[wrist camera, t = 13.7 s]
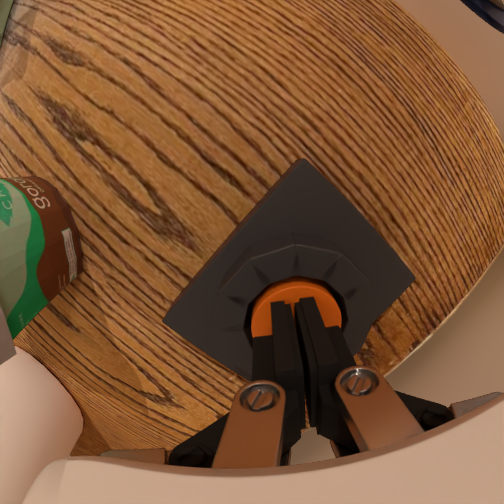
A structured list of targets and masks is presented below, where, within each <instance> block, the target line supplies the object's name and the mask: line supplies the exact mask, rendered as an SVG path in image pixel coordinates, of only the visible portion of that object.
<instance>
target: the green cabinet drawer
mask: <svg viewBox="0 0 504 504" xmlns="http://www.w3.org/2000/svg"><path fill="white" fill-rule="evenodd" d="M12 2H13V0H0V37H1V36H2V34H3V30H4V27H5V23H6V20H7V17H8V13H9V10H10V7H11V4H12Z"/></svg>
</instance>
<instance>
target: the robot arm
mask: <svg viewBox="0 0 504 504" xmlns="http://www.w3.org/2000/svg"><path fill="white" fill-rule="evenodd" d="M489 1H491V2H492V3H494V4H495V5H497V6H498V7H500V8H502V9H504V0H489ZM294 304H295V316H296V329H297V333H296V329H295V324H294V319H293V314H292V309H291V305H290V303H289V304H285V302H284V301H276V302H270V305H271V319H272V333H273V335H267V336H258V337H254V338H253V361H252V382H249V383H247V384H245V385H244V386H242V387H241V388H240V389H239V390H238V391H237V393H236V395H235V397H234V400H233V403H232V406H231V409H230V412H229V413H227V414H226V415H224V416H223V417H221V418H220V419H219V420H217V421H216V422H214V423H213V424H211V425H209V426H208V427H206V428H205V429H203V430H202V431H200V432H199V433H197V434H195V435H194V436H192V437H191V438H189V439H187V440H186V441H184V442H182V443H181V444H179V445H178V446H176V447H175V448H174V449H173V450H168V451H167V450H166V449H165V448H156V449H134V450H107V451H105V452H103V453H101V454H100V455H99V456H73V457H66V458H61V459H57V460H55V461H53V462H51V463H50V464H48V465H47V466H46V467H45V468H44V469H43V470H42V471H41V473H40V474H39V475H38V477H37V478H36V480H35V481H34V483H33V484H32V486H31V488H30V489H29V491H28V493H27V495H26V497H25V499H24V501H23V503H22V504H504V393H501V392H494V393H491V394H487V395H484V396H480V397H476V398H473V399H469V400H465V401H461V402H456V403H452V404H451V405H450V407H448V408H447V407H446V406H444V405H441V404H438V403H435V402H431V401H427V400H424V399H421V398H417V397H414V396H410V395H407V394H404V393H401V392H398V391H395V390H393V388H392V387H391V386H390V385H389V383H388V382H387V381H386V379H385V378H384V377H383V375H382V374H381V373H380V372H379V371H378V370H376V369H374V368H372V367H369V366H364V365H356V363H355V360H354V358H353V356H352V354H351V351H350V349H349V347H348V345H347V342H346V340H345V338H344V336H343V334H342V331H341V329H340V327H339V326H338V325H337V326H331V327H325V324H324V322H323V319H322V317H321V314H320V311H319V309H318V306H317V304H316V301H315V299H314V297H306V298H299V302H297V303H294ZM305 399H306V405H307V411H308V417H309V423H310V427H316V429H317V434H318V435H319V434H320V435H322V436H324V437H326V438H328V439H330V444H331V447H332V449H333V452H334V454H335V456H336V458H335V459H330V460H324V461H318V462H312V463H305V464H298V465H290V458H291V447H292V446H293V445H294V444H295V443H296V442H297V441H298V440H299V439H300V438H301V429H304V428H306V424H305Z"/></svg>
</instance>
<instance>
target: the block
mask: <svg viewBox="0 0 504 504" xmlns="http://www.w3.org/2000/svg"><path fill="white" fill-rule="evenodd" d="M294 276H301V277H307V278H313V279H318V280H323V281H324V282H325V283H326V284H327V286H328V287H329V289H330V291H331V293H332V295H333V297H334V299H335V301H336V303H337V305H338V307H339V309H340V312H341V318H342V321H341V328H340V329H341V331H342V334H343V336H344V338H345V340H346V342H347V345H348V347H349V349H350V351H351V354H352V356H354V355H355V354H356V353H358V352H359V351H360V349H361V348H362V346H363V344H364V341H365V339H366V337H367V335H368V332H369V330H370V328H371V325H372V323H373V322H374V321H375V320H376V319H377V318H378V317H379V316H380V315H381V314H382V313H383V312H384V311H385V310H386V309H387V308H388V307H389V306H390V305H391V304H392V303H393V302H394V301H395V300H396V299H397V298H398V297H399V296H400V295H401V294H402V293H403V292H404V291H405V290H406V289H407V288H408V287H409V286H410V284H411V283H412V282H413V281H414V280H415V279H416V278H415V276H414V275H413V273H412V272H411V271H410V270H409V268H408V267H407V266H406V265H405V263H404V262H403V261H402V260H401V259H400V257H399V256H398V255H397V254H396V253H395V251H394V250H393V249H392V248H391V247H390V246H389V244H388V243H387V242H386V241H385V240H384V239H383V237H382V236H381V235H380V234H379V233H378V232H377V231H376V230H375V228H374V227H373V226H372V225H371V224H370V223H369V222H368V221H367V220H366V219H365V218H364V216H363V215H362V214H361V213H360V212H359V211H358V210H357V209H356V208H355V207H354V206H353V205H352V204H351V203H350V202H349V201H348V200H347V199H346V198H345V197H344V196H343V195H342V194H341V193H340V192H339V191H338V190H337V189H336V188H335V187H334V186H333V185H332V184H331V183H330V182H329V181H328V180H327V179H326V178H325V177H324V176H323V175H322V174H321V173H320V172H319V171H318V170H317V169H316V168H315V167H314V166H312V165H311V164H310V163H309V162H308V161H307V160H306V159H304V158H303V159H299V160H296V161H295V162H294V163H293V164H292V165H291V166H290V167H289V169H288V170H287V171H286V172H285V173H284V174H283V175H282V176H281V177H280V179H279V180H278V181H277V182H276V183H275V184H274V185H273V186H272V187H271V189H270V190H269V191H268V192H267V193H266V194H265V195H264V196H263V198H262V199H261V200H260V201H259V202H258V203H257V204H256V205H255V207H254V208H253V209H252V210H251V211H250V212H249V213H248V215H247V216H246V217H245V218H244V219H243V220H242V221H241V223H240V224H239V225H238V226H237V227H236V228H235V229H234V231H233V232H232V233H231V234H230V235H229V236H228V238H227V239H226V240H225V241H224V242H223V243H222V245H221V246H220V247H219V248H218V249H217V250H216V252H215V253H214V254H213V255H212V256H211V257H210V259H209V260H208V261H207V262H206V263H205V264H204V266H203V267H202V268H201V269H200V270H199V272H198V273H197V274H196V275H195V276H194V278H193V279H192V280H191V281H190V282H189V284H188V285H187V286H186V287H185V288H184V290H183V291H182V292H181V293H180V294H179V296H178V297H177V298H176V299H175V300H174V302H173V303H172V305H171V307H170V308H169V310H168V312H167V313H166V315H165V317H164V318H163V320H162V322H163V323H165V324H166V325H167V326H169V327H170V328H171V329H173V330H174V331H175V332H177V333H178V334H179V335H181V336H182V337H183V338H185V339H186V340H188V341H189V342H190V343H192V344H193V345H195V346H196V347H198V348H199V349H200V350H202V351H203V352H205V353H206V354H208V355H209V356H211V357H212V358H214V359H215V360H217V361H218V362H220V363H221V364H223V365H224V366H226V367H227V368H229V369H231V370H232V371H234V372H235V373H237V374H239V375H240V376H242V377H243V378H245V379H247V380H248V381H250V382H252V361H253V336H252V331H251V321H252V305H253V299H254V298H255V297H256V296H257V295H258V294H259V293H260V292H261V291H262V290H263V289H264V288H265V287H266V286H267V285H268V284H272V283H275V282H278V281H281V280H284V279H287V278H291V277H294Z"/></svg>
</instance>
